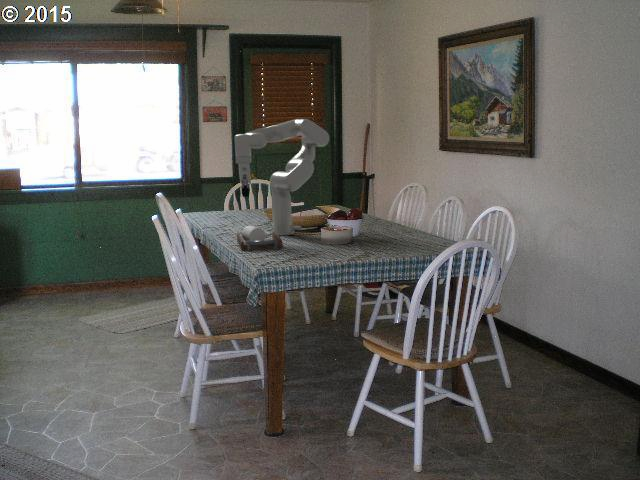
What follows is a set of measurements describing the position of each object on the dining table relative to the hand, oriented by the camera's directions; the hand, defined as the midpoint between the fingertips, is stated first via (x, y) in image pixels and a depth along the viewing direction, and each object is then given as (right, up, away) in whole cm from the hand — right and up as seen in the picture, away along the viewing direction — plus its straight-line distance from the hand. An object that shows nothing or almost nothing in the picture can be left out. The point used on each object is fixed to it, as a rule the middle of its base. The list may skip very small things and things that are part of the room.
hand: (245, 195), depth 375 cm
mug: (+7, -23, -9) cm, 26 cm away
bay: (+8, -24, -16) cm, 30 cm away
